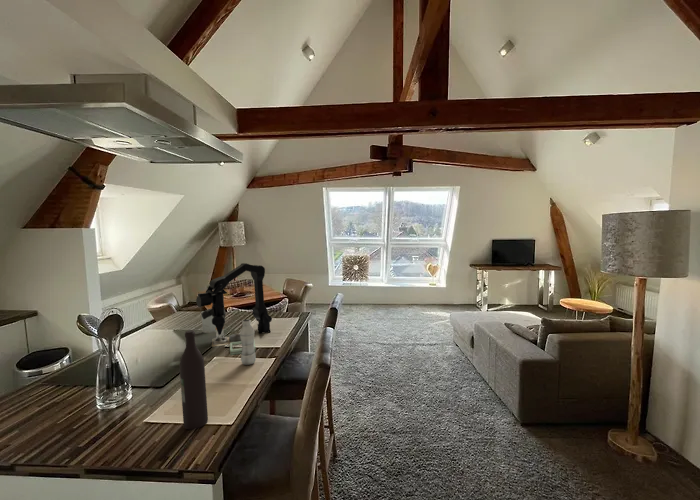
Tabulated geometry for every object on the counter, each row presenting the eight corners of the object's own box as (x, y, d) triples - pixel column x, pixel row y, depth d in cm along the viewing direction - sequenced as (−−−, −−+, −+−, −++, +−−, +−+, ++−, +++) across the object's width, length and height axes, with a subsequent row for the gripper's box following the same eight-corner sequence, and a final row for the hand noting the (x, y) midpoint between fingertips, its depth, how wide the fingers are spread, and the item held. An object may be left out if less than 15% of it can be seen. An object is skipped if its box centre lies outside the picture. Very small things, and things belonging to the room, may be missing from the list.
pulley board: (247, 337, 192) (246, 329, 192) (248, 344, 180) (247, 336, 179) (213, 341, 186) (212, 333, 186) (211, 349, 174) (211, 341, 174)
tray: (254, 344, 180) (254, 339, 180) (255, 351, 169) (255, 346, 169) (230, 347, 176) (230, 342, 176) (230, 355, 165) (229, 350, 165)
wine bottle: (196, 415, 113) (190, 327, 110) (212, 419, 110) (207, 329, 108) (178, 427, 106) (171, 333, 104) (195, 432, 103) (189, 336, 101)
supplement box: (220, 330, 206) (219, 310, 205) (209, 334, 200) (208, 313, 199) (212, 328, 210) (211, 308, 209) (202, 332, 204) (200, 311, 203)
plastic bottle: (238, 366, 152) (235, 322, 150) (246, 360, 158) (244, 318, 157) (251, 367, 150) (248, 323, 149) (258, 361, 157) (256, 318, 155)
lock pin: (224, 339, 184) (223, 325, 183) (224, 342, 180) (223, 327, 179) (216, 341, 182) (215, 326, 182) (216, 343, 179) (215, 328, 178)
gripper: (203, 301, 186) (204, 329, 187) (200, 308, 168) (202, 339, 170) (224, 299, 190) (226, 326, 191) (223, 306, 172) (225, 336, 173)
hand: (220, 332), depth 181 cm, fingers open, 9 cm apart
